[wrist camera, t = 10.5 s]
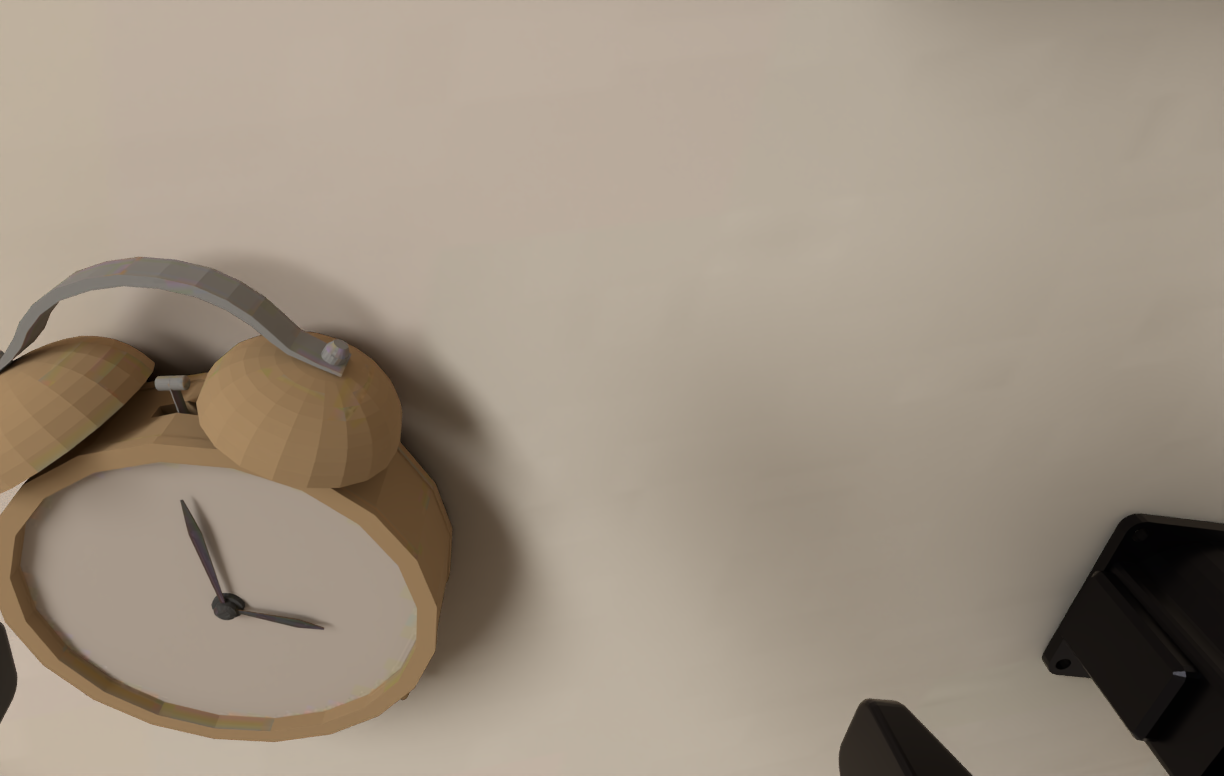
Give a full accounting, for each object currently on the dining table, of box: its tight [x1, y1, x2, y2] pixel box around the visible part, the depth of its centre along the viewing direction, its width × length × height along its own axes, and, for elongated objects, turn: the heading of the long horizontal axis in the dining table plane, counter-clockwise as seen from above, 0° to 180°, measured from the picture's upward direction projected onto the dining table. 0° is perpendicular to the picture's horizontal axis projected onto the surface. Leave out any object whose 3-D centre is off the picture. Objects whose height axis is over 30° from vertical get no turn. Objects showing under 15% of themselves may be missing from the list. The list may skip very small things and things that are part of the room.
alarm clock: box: [0, 257, 452, 742], centre depth 21 cm, size 11×5×15 cm
